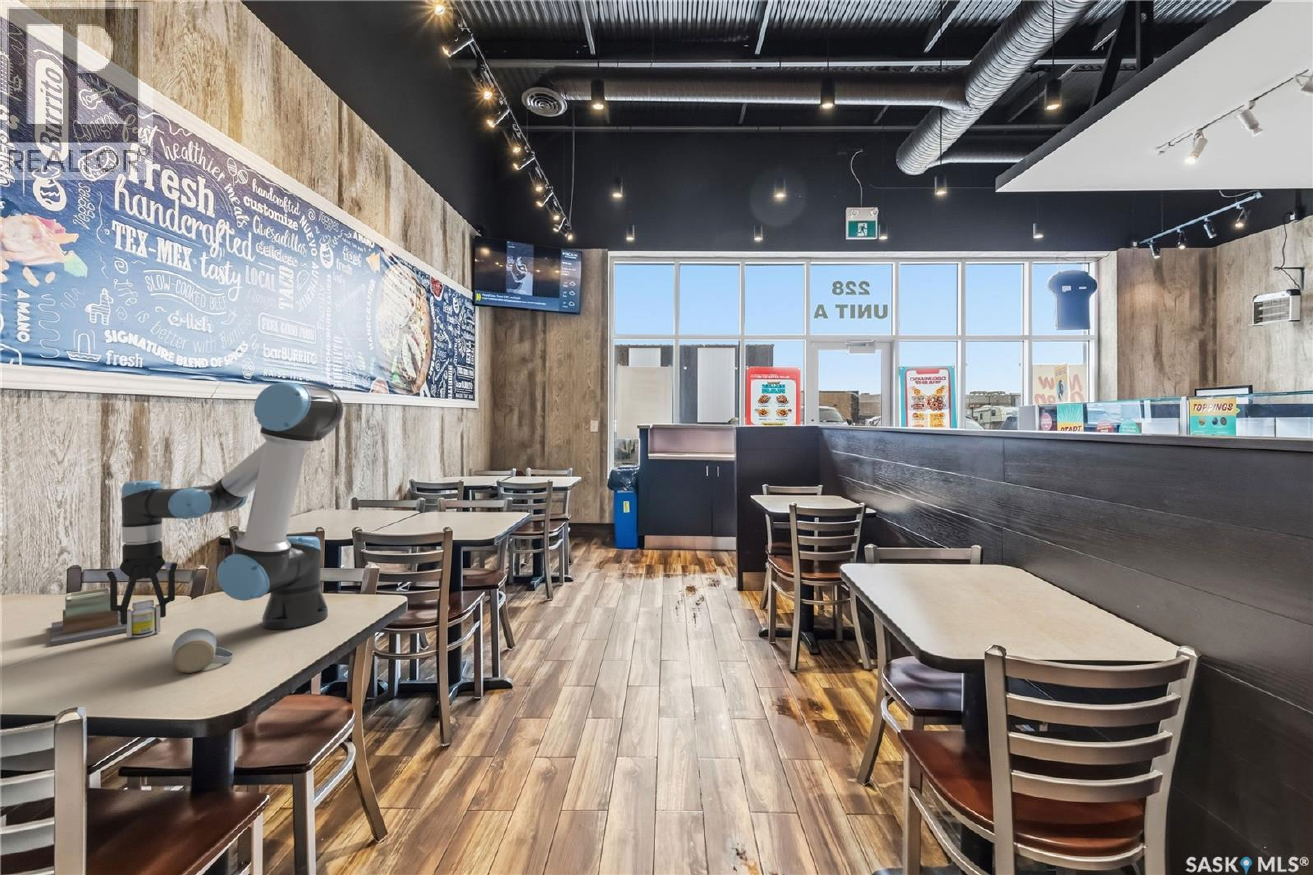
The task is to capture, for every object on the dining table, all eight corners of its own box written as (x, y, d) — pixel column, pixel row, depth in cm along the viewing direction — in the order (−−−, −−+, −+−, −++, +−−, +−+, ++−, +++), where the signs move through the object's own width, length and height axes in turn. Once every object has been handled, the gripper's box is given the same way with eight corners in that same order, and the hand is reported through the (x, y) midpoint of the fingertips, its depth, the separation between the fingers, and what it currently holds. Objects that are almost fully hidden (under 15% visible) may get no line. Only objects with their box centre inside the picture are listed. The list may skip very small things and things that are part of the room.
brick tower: (130, 631, 147) (130, 595, 147) (51, 646, 137) (50, 607, 137) (124, 615, 161) (123, 581, 161) (51, 627, 151) (51, 591, 150)
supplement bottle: (141, 631, 146) (141, 599, 146) (161, 631, 147) (160, 598, 147) (125, 638, 142) (125, 604, 142) (146, 637, 142) (145, 604, 142)
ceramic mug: (171, 678, 118) (172, 641, 119) (172, 666, 125) (172, 631, 125) (234, 666, 125) (235, 631, 125) (232, 655, 132) (233, 622, 132)
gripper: (185, 535, 153) (186, 621, 153) (92, 545, 140) (93, 639, 140) (189, 538, 148) (191, 628, 148) (93, 549, 135) (95, 646, 135)
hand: (143, 633), depth 144 cm, fingers closed on supplement bottle, 5 cm apart
